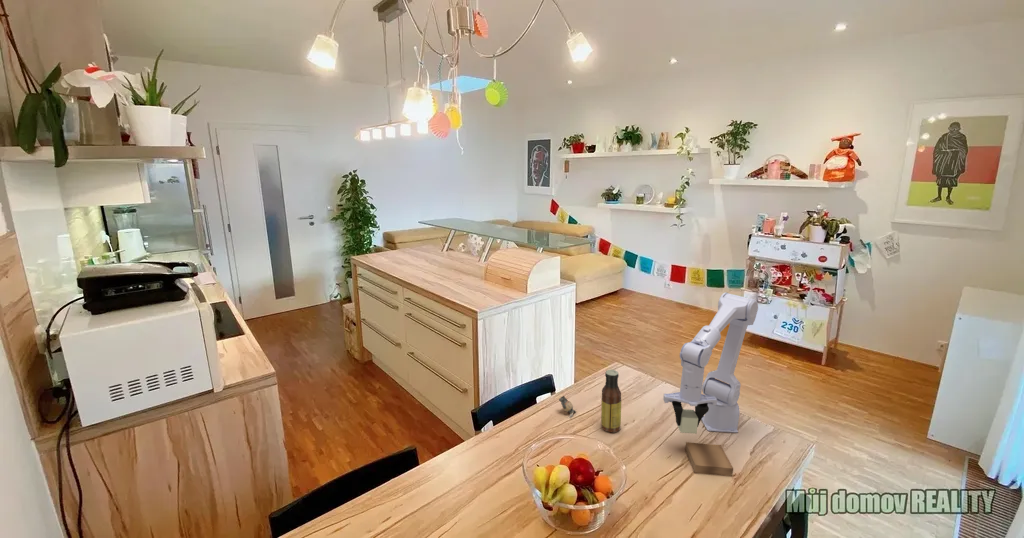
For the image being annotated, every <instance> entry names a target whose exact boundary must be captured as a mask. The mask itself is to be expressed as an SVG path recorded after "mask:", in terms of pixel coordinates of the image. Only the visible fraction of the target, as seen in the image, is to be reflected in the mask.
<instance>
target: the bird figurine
mask: <svg viewBox="0 0 1024 538" xmlns="http://www.w3.org/2000/svg"><path fill="white" fill-rule="evenodd" d="M558 401H559V402H560V404H561V406H562V409H563V411H565V412H567V413H568V414H569V416H566V418H570V419H572V418H573V415H574V413H575V414H576V412H577V411H576V409H573V408H574V406H573V403H572V402H571V401H569V400H568V399H567V398H566V397H565V395H564V396H561V397H560V398H559V399H558Z"/></svg>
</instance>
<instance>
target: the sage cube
mask: <svg viewBox="0 0 1024 538" xmlns="http://www.w3.org/2000/svg"><path fill="white" fill-rule="evenodd" d="M676 425H677V424H676ZM697 425H698V417H697V415H696V413H695V409H687V408H686V409H685V408H683V411H682V415H681V423H680V426H678V425H677V428H678V430H679V432H680V433H682V434H696V435H697V433H698V427H697ZM698 426H699V425H698Z"/></svg>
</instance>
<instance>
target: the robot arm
mask: <svg viewBox="0 0 1024 538" xmlns="http://www.w3.org/2000/svg"><path fill="white" fill-rule="evenodd" d="M758 310H759V303H758V300H757V299H755V298H750V297H747V296H742V295H741V296H740V295H737V294H733V293H729V292H727V291H725V292H723V293H721V295H720V296H719V299H718V303H717V312H716V313H715V315H714V317H713V318H712V320H711V321H710V323H709V325H704V326H702V327H701V329H700V330H699V331H698V332H697V333H696V335H695V336H694V337H693V338H692V340H691V341H689V342H685V343H684V344H683V345H682V346H681V348H680V352H679V359H680V365H681V368H682V370H681V380H680V389H679V391H677V392H671V393H663V398H662V399H663V402H664V403H666V404H668V403H671V405H672V407H673V412H674V417H675V423H676V425H678V426H680V423H681V415H682V411H683V409H684V408H683V405H682V404H688V405H689V406H691V407H694V411H695V413H696V415H697V417H698V425H697V428H698V427H699V426H700V423H701V422H702V423H703V425H704V427H705V428H706V430H707V431H708V432H720V433H721V432H722V433H739V430H738V428H739V419H740V411H741V410H740V405H739V403H738V401H739V399H740V393H741V387H742V386H741V382H740V381H739V380H738V378H737V377H736V375H735V370H736V367H737V364H738V359H739V357H740V353H741V350H742V345H743V342H744V338H745V334H746V332H747V328H748V326H753V325H754V322H755V321H756V318H757V314H758ZM728 325H729V326H728ZM727 326H728V329H727V333H726V335H725V340H724V343H723V346H722V350H721V355H720V358H719V360H718V364H717V367H716V369H715V370H711V371H709V372H707V374H706V376H705V375H704V374H705V367H706V366H707V365H708V364H709V362H710V359H711V356H712V354H713V350H714V348H715V347H716V345H718V343H719V341H720V340H721V338H722V334H721V332H722V331H723V330H724V329H725V328H726V327H727ZM704 376H705V379H704ZM678 426H677V427H678Z"/></svg>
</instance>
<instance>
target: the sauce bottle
mask: <svg viewBox="0 0 1024 538" xmlns="http://www.w3.org/2000/svg"><path fill="white" fill-rule="evenodd" d="M604 373H605V374H604V375H605V384H604V385H603V388H602V389H601V405H600V406H601V409H600V410H601V411H600V412H601V414H600V415H601V417H600V418H601V420H600V423H601V424H600V425H601V428H602V430H603V431H606V432H608V433H612V434H613V433H617V432H619V431H620V430H621V425H622V424H621V423H622V392H621V389H620V387H619V383H618V382H619V381H618V380H619V376H620V375H619V372H618V370H616V369H607V370H605V372H604Z"/></svg>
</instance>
